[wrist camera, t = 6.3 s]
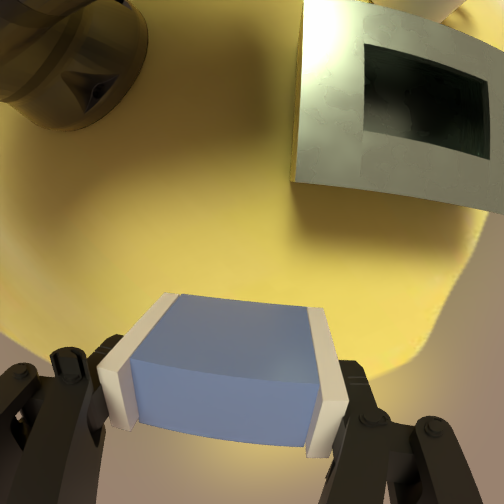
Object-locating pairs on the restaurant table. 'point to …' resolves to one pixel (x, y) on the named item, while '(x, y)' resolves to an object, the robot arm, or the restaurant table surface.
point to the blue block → (229, 371)
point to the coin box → (397, 106)
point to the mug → (423, 7)
